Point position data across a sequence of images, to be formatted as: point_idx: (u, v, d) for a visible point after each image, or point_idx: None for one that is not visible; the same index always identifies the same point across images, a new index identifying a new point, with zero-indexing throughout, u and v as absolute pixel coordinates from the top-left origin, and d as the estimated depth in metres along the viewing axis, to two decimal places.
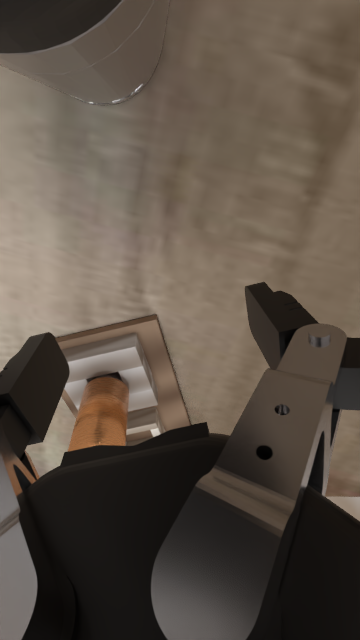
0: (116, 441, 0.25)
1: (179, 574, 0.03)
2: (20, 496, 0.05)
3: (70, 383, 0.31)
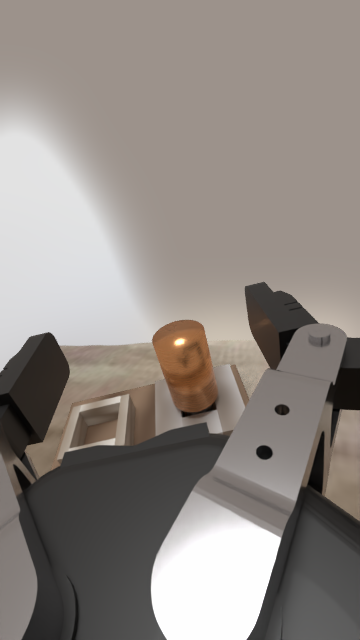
0: (193, 350, 0.25)
1: (179, 574, 0.03)
2: (20, 496, 0.05)
3: None
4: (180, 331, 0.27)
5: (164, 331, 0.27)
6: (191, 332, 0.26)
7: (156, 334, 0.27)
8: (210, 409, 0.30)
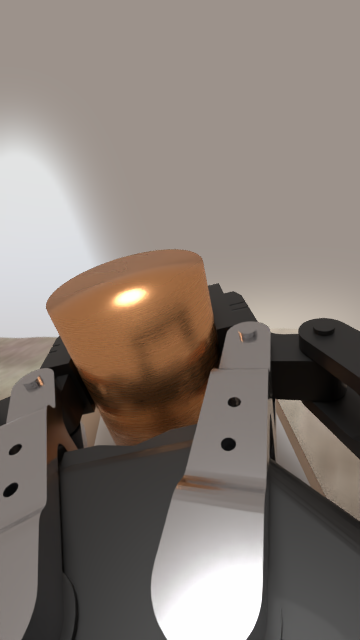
0: (164, 319, 0.07)
1: (179, 574, 0.03)
2: (53, 484, 0.05)
3: None
4: (134, 271, 0.09)
5: (93, 274, 0.10)
6: (163, 270, 0.09)
7: (69, 282, 0.10)
8: None
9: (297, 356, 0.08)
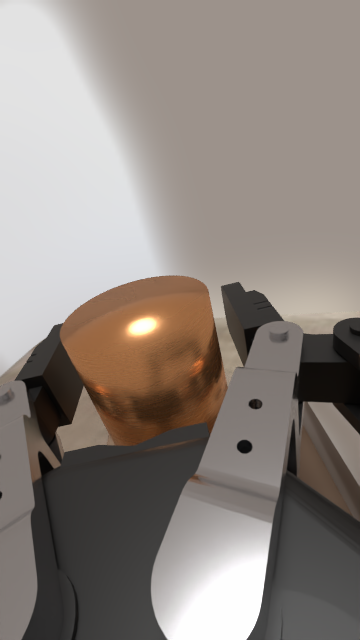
0: (173, 352, 0.08)
1: (179, 574, 0.03)
2: (38, 488, 0.05)
3: None
4: (143, 300, 0.10)
5: (102, 301, 0.10)
6: (171, 300, 0.09)
7: (80, 309, 0.10)
8: None
9: (332, 357, 0.07)
